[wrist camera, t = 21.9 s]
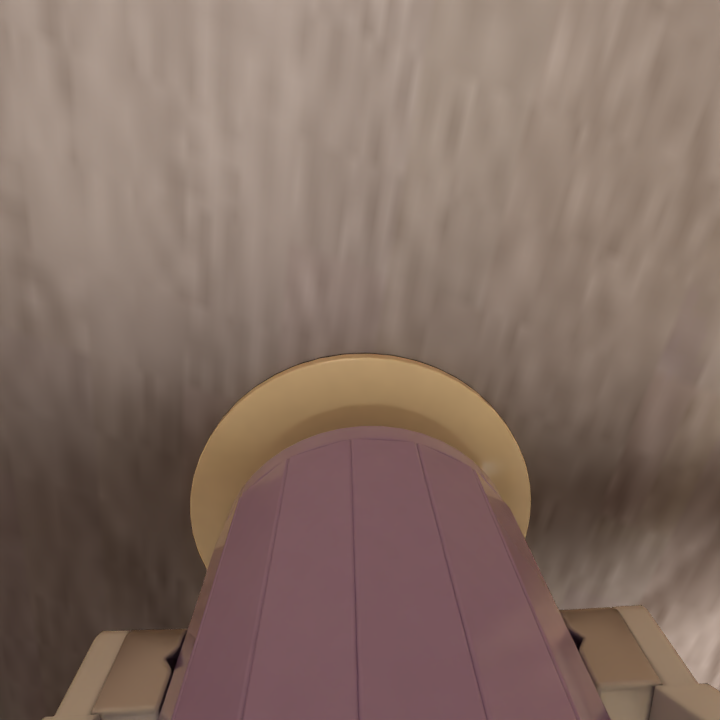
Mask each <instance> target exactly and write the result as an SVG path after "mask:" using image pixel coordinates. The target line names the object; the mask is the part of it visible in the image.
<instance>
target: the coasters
mask: <svg viewBox="0 0 720 720" xmlns="http://www.w3.org/2000/svg"><path fill="white" fill-rule="evenodd" d="M356 426H386V427H395V428H403V429H407V430H411V431H415V432H419V433H422V434H425V435H428V436H430V437H433V438H436V439H438V440H441V441H443V442H444V443H446V444H448V445H450V446H452V447H454V448H456V449H457V450H459V451H460V452H462V453H463V454H464V455H466V456H467V457H468V458H470V459H471V460H473V461H474V462H475V463H476V464H477V465H478V466H479V467H480V468H481V469H482V470H483V471H484V472H485V473H486V474H487V475H488V477H489V478H490V479H491V481H492V482H493V483H494V485H495V486H496V487H497V489H498V491H499V493H500V494H501V496H502V498H503V500H504V502H505V503H506V504H507V505H508V507H509V508H510V510H511V512H512V513H513V515H514V517H515V519H516V521H517V523H518V526H519V528H520V530H521V532H522V534H523V536H524V538H525V537H526V533H527V529H528V524H529V520H530V508H531V493H530V481H529V477H528V472H527V468H526V463H525V461H524V458H523V456H522V453H521V451H520V448H519V446H518V443H517V442H516V440H515V438H514V437H513V435H512V433H511V432H510V430H509V428H508V426H507V425H506V423H505V422H504V421H503V419H502V418H501V417H500V416H499V414H498V413H497V412H496V411H495V409H494V408H493V407H492V406H491V405H490V404H489V403H488V402H487V401H486V400H485V399H484V398H483V397H481V396H480V395H479V394H478V393H477V392H476V391H475V390H473V389H472V388H470V387H469V386H467V385H466V384H465V383H463V382H462V381H460V380H459V379H457V378H455V377H453V376H451V375H449V374H447V373H445V372H443V371H441V370H440V369H438V368H435V367H432V366H429V365H426V364H423V363H421V362H418V361H414V360H410V359H405V358H401V357H396V356H390V355H378V354H344V355H338V356H332V357H326V358H320V359H317V360H313V361H310V362H306V363H303V364H300V365H297V366H294V367H292V368H290V369H287V370H285V371H283V372H281V373H278V374H276V375H274V376H273V377H271V378H269V379H268V380H266V381H264V382H263V383H261V384H259V385H258V386H256V387H255V388H254V389H252V390H251V391H250V392H249V393H247V394H246V395H245V396H244V397H242V398H241V399H240V400H239V401H238V402H237V403H236V404H235V405H234V406H233V407H232V408H231V409H230V410H229V411H228V412H227V413H226V414H225V415H224V416H223V418H222V419H221V421H220V422H219V423H218V425H217V426H216V428H215V429H214V431H213V432H212V433H211V435H210V437H209V439H208V441H207V443H206V445H205V447H204V449H203V451H202V453H201V455H200V458H199V461H198V464H197V467H196V470H195V473H194V476H193V482H192V488H191V494H190V517H191V524H192V531H193V536H194V539H195V542H196V545H197V549H198V552H199V554H200V556H201V559H202V561H203V563H204V565H205V567H206V569H208V566H209V563H210V560H211V557H212V554H213V551H214V548H215V545H216V542H217V540H218V538H219V536H220V534H221V532H222V530H223V528H224V525H225V522H226V519H227V516H228V514H229V511H230V509H231V507H232V504H233V502H234V500H235V499H236V497H237V495H238V494H239V492H240V490H241V489H242V487H243V486H244V485H245V484H246V482H247V481H248V480H249V479H250V478H251V476H252V475H253V474H254V473H255V472H256V471H257V470H258V469H259V468H260V467H262V466H263V465H264V464H265V463H266V462H267V461H268V460H270V459H271V458H272V457H274V456H275V455H277V454H278V453H280V452H281V451H282V450H284V449H286V448H288V447H290V446H292V445H294V444H296V443H297V442H299V441H301V440H304V439H306V438H309V437H312V436H314V435H317V434H320V433H323V432H328V431H332V430H336V429H340V428H348V427H356Z"/></svg>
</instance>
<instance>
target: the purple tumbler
mask: <svg viewBox="0 0 720 720" xmlns="http://www.w3.org/2000/svg"><path fill="white" fill-rule="evenodd" d="M158 720H611V718H610V716H609V714H608V712H607V710H606V708H605V706H604V704H603V702H602V700H601V697H600V695H599V693H598V691H597V689H596V687H595V685H594V683H593V681H592V679H591V676H590V674H589V672H588V670H587V668H586V666H585V664H584V662H583V660H582V658H581V656H580V653H579V651H578V649H577V647H576V645H575V643H574V641H573V639H572V637H571V635H570V632H569V630H568V628H567V626H566V624H565V622H564V620H563V618H562V616H561V614H560V612H559V609H558V607H557V605H556V603H555V601H554V599H553V597H552V595H551V593H550V591H549V588H548V586H547V584H546V582H545V580H544V578H543V576H542V574H541V572H540V570H539V567H538V565H537V563H536V561H535V559H534V557H533V555H532V553H531V551H530V549H529V547H528V544H527V542H526V540H525V538H524V536H523V534H522V532H521V530H520V528H519V526H518V523H517V521H516V519H515V517H514V515H513V513H512V512H511V510H510V508H509V507H508V505H507V504H506V503H505V502H504V500H503V498H502V496H501V494H500V493H499V491H498V489H497V487H496V486H495V485H494V483H493V482H492V481H491V479H490V478H489V477H488V475H487V474H486V473H485V472H484V471H483V470H482V469H481V468H480V467H479V466H478V465H477V464H476V463H475V462H474V461H473V460H471V459H470V458H468V457H467V456H466V455H464V454H463V453H462V452H460V451H459V450H457V449H456V448H454V447H452V446H450V445H448V444H446V443H444V442H443V441H441V440H438V439H436V438H433V437H430V436H428V435H425V434H422V433H419V432H415V431H411V430H407V429H403V428H395V427H386V426H356V427H348V428H340V429H336V430H332V431H328V432H323V433H320V434H317V435H314V436H312V437H309V438H306V439H304V440H301V441H299V442H297V443H296V444H294V445H292V446H290V447H288V448H286V449H284V450H282V451H281V452H280V453H278V454H277V455H275V456H274V457H272V458H271V459H270V460H268V461H267V462H266V463H265V464H264V465H263V466H262V467H260V468H259V469H258V470H257V471H256V472H255V473H254V474H253V475H252V476H251V478H250V479H249V480H248V481H247V482H246V484H245V485H244V486H243V487H242V489H241V490H240V492H239V494H238V495H237V497H236V499H235V500H234V502H233V504H232V507H231V509H230V511H229V514H228V516H227V519H226V522H225V525H224V528H223V530H222V532H221V534H220V536H219V538H218V540H217V542H216V545H215V548H214V551H213V554H212V557H211V560H210V563H209V566H208V569H207V572H206V575H205V578H204V581H203V584H202V587H201V590H200V594H199V597H198V600H197V603H196V606H195V609H194V612H193V615H192V618H191V621H190V624H189V627H188V630H187V633H186V636H185V639H184V642H183V645H182V648H181V651H180V654H179V657H178V660H177V663H176V666H175V669H174V672H173V676H172V679H171V682H170V685H169V688H168V691H167V694H166V697H165V700H164V703H163V706H162V709H161V712H160V715H159V718H158Z"/></svg>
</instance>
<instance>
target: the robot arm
mask: <svg viewBox="0 0 720 720" xmlns="http://www.w3.org/2000/svg"><path fill="white" fill-rule="evenodd" d="M559 612H560V614H561V616H562V618H563V620H564V622H565V624H566V626H567V628H568V630H569V632H570V635H571V637H572V639H573V641H574V643H575V645H576V647H577V649H578V651H579V653H580V656H581V658H582V660H583V662H584V664H585V666H586V668H587V670H588V672H589V674H590V676H591V679H592V681H593V683H594V685H595V687H596V689H597V691H598V693H599V695H600V697H601V700H602V702H603V704H604V706H605V708H606V710H607V712H608V714H609V716H610V718H611V720H720V691H718V690H717V689H715V688H714V687H712V686H711V685H709V684H698V682H697V681H696V680H695V678H694V677H693V675H692V674H691V672H690V671H689V669H688V668H687V667H686V665H685V664H684V662H683V661H682V659H681V658H680V656H679V655H678V653H677V652H676V651H675V649H674V648H673V646H672V645H671V643H670V642H669V640H668V639H667V637H666V636H665V635H664V633H663V632H662V630H661V629H660V627H659V626H658V624H657V623H656V621H655V620H654V619H653V617H652V616H651V614H650V613H649V611H648V610H647V609H646V608H645V607H643V606H642V605H633V606H617V607H612V608H610V607H604V608H587V609H570V610H559ZM187 630H188V629H145V630H131V631H102V632H101V633H100V634H99V635H98V636H97V637H96V638H95V639H94V641H93V643H92V645H91V647H90V649H89V650H88V652H87V654H86V656H85V658H84V660H83V662H82V664H81V666H80V668H79V670H78V672H77V673H76V675H75V677H74V679H73V681H72V683H71V685H70V687H69V689H68V691H67V693H66V695H65V697H64V698H63V700H62V702H61V704H60V706H59V708H58V710H57V712H56V714H55V716H53V717H44V718H43V719H42V720H158V718H159V715H160V712H161V709H162V706H163V703H164V700H165V697H166V694H167V691H168V688H169V685H170V682H171V679H172V676H173V672H174V669H175V666H176V663H177V660H178V657H179V654H180V651H181V648H182V645H183V642H184V639H185V636H186V633H187Z"/></svg>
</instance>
